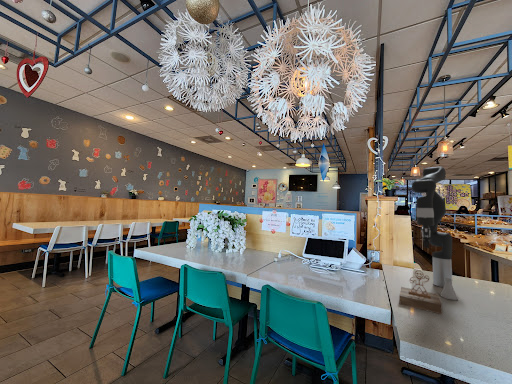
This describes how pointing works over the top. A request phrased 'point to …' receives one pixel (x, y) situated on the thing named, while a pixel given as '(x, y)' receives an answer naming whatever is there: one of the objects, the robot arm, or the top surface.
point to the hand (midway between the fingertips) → (426, 246)
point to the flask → (448, 290)
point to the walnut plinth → (421, 300)
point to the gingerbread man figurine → (419, 287)
